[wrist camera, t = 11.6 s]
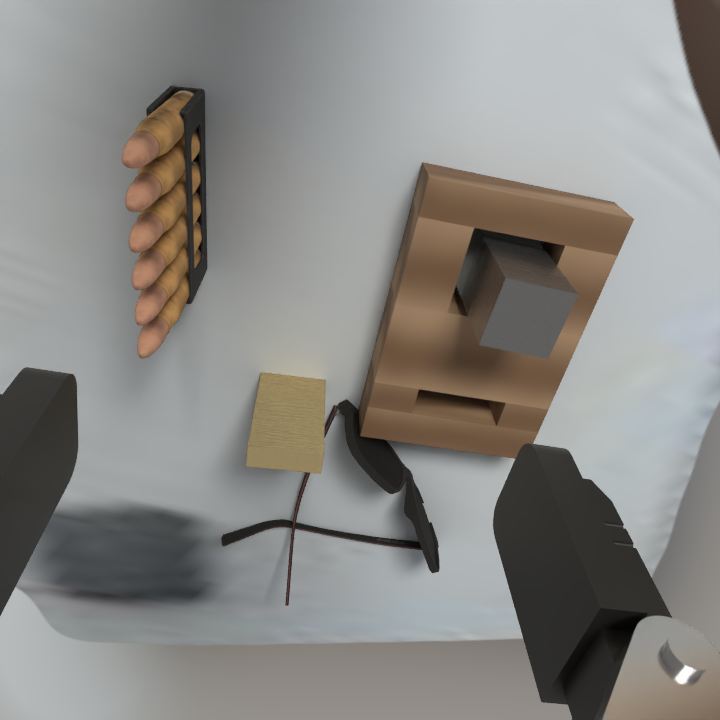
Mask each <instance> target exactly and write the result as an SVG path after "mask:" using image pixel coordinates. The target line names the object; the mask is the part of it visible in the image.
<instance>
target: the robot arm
mask: <svg viewBox="0 0 720 720" xmlns="http://www.w3.org/2000/svg"><path fill="white" fill-rule="evenodd" d="M77 452H78V417H77V383H76V379H75V376H74V375H73V374H68V373H61V372H54V371H48V370H41V369H34V368H27V367H26V368H24V369H23V370H21V372H20V373H19V374H18V375H17V377H16V378H15V379H14V380H13V382H12V383H11V384H10V386H9V387H8V388H7V389H6V391H5V392H4V393H3V395H2V394H0V615H1V613H2V611H3V609H4V607H5V606H6V604H7V602H8V600H9V598H10V596H11V594H12V592H13V590H14V588H15V586H16V584H17V582H18V580H19V578H20V576H21V574H22V573H23V571H24V569H25V567H26V565H27V563H28V561H29V559H30V557H31V555H32V553H33V551H34V549H35V547H36V545H37V543H38V541H39V539H40V538H41V536H42V534H43V532H44V530H45V528H46V526H47V524H48V522H49V520H50V518H51V516H52V514H53V512H54V510H55V508H56V506H57V505H58V503H59V501H60V499H61V497H62V495H63V493H64V491H65V489H66V487H67V485H68V483H69V481H70V479H71V476H72V474H73V471H74V467H75V463H76V459H77ZM623 525H624V524H623V522H622V520H621V518H620V516H619V514H618V513H617V511H616V509H615V507H614V505H613V503H612V501H611V500H610V499H609V498H608V497H607V496H606V495H605V494H604V493H603V492H602V491H601V490H600V489H599V488H598V487H597V486H596V485H595V484H594V482H593V481H592V480H589V479H583V478H582V476H581V474H580V472H579V470H578V468H577V466H576V464H575V462H574V460H573V457H572V455H571V454H570V452H569V451H568V450H567V449H563V448H557V447H550V446H543V445H537V444H530V443H526V444H524V445H523V446H522V447H521V449H520V450H519V452H518V455H517V457H516V459H515V461H514V464H513V466H512V468H511V471H510V473H509V475H508V477H507V480H506V482H505V484H504V487H503V489H502V491H501V493H500V496H499V498H498V500H497V503H496V506H495V511H494V519H493V528H494V535H495V539H496V543H497V546H498V550H499V553H500V557H501V560H502V564H503V568H504V571H505V575H506V578H507V582H508V585H509V589H510V592H511V596H512V599H513V603H514V607H515V610H516V614H517V617H518V621H519V624H520V628H521V631H522V635H523V638H524V642H525V645H526V649H527V653H528V656H529V659H530V663H531V667H532V670H533V673H534V677H535V681H536V684H537V688H538V692H539V695H540V699H541V701H542V702H547V703H558V704H568V706H569V709H570V712H571V715H572V720H720V652H719V650H718V649H717V648H716V647H715V646H714V645H713V644H712V643H711V642H710V641H709V640H708V639H707V638H706V637H705V636H703V635H702V634H701V633H700V632H698V631H697V630H695V629H694V628H692V627H691V626H689V625H687V624H685V623H683V622H681V621H679V620H676V619H673V618H672V616H671V615H670V613H669V611H668V609H667V607H666V605H665V603H664V601H663V599H662V597H661V595H660V593H659V591H658V590H657V588H656V586H655V584H654V582H653V580H652V578H651V576H650V574H649V572H648V570H647V568H646V566H645V564H644V563H643V561H642V559H641V557H640V555H639V553H638V551H637V549H636V548H633V541H632V539H631V538H630V536H629V534H628V532H627V530H626V529H623Z"/></svg>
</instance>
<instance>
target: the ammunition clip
mask: <svg viewBox="0 0 720 720" xmlns="http://www.w3.org/2000/svg"><path fill="white" fill-rule="evenodd" d="M122 162H123V164H124V165H125V166H126V167H128V168H140V169H139V172H138V175H137V177H136V178H135V180H134V182H133V183H132V184H131V185H130V187H129V189H128V192H127V195H126V207H127V209H128V210H129V211H132V212H138V211H141V213H140V215H139V217H138V219H137V221H136V223H135V224H134V226H133V228H132V231H131V233H130V237H129V247H130V249H131V251H132V252H134V253H139V252H141V254H140V257H139V259H138V260H137V262H136V265H135V267H134V270H133V275H132V284H133V287H134V289H135V290H142V292H141V294H140V296H139V299H138V301H137V304H136V308H135V320H136V323H137V324H138V325H143V327H142V330H141V332H140V336H139V339H138V354H139V356H140V358H142V359H143V358H146V357H149V356H150V355H151V354H153V353H154V352H155V351H156V350H157V349H158V348H159V347H160V345H161V344H162V343H163V341H164V339H165V337H166V335H167V334H168V333H169V331H170V329H171V327H172V326H173V325H174V324H175V323H176V322H177V321H178V319H179V317H180V315H181V313H182V311H183V308H184V306H185V304H186V303H187V304H191V303H192V301H193V299H194V297H195V295H196V292H197V290H198V288H199V286H200V284H201V281H202V279H203V277H204V275H205V273H206V270H207V225H206V159H205V92H204V90H203V89H194V88H185V87H176V86H170V87H169V88H168V89H167V90H166V91H165V92H164V93H163V94H162V95H161V96H160V97H158V98H157V99H156V100H155V101H154V102H153V103H152V104H151V105H150V106H149V107H148V108H147V117H146V118H145V119H144V120H143V121H142V122H141V123H140V124H139V125H138V127H137V129H136V132H135V134H134V135H133V136H132V137H131V138H130V140H129V141H128V142H127V143H126V145H125V147H124V150H123V153H122Z"/></svg>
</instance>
